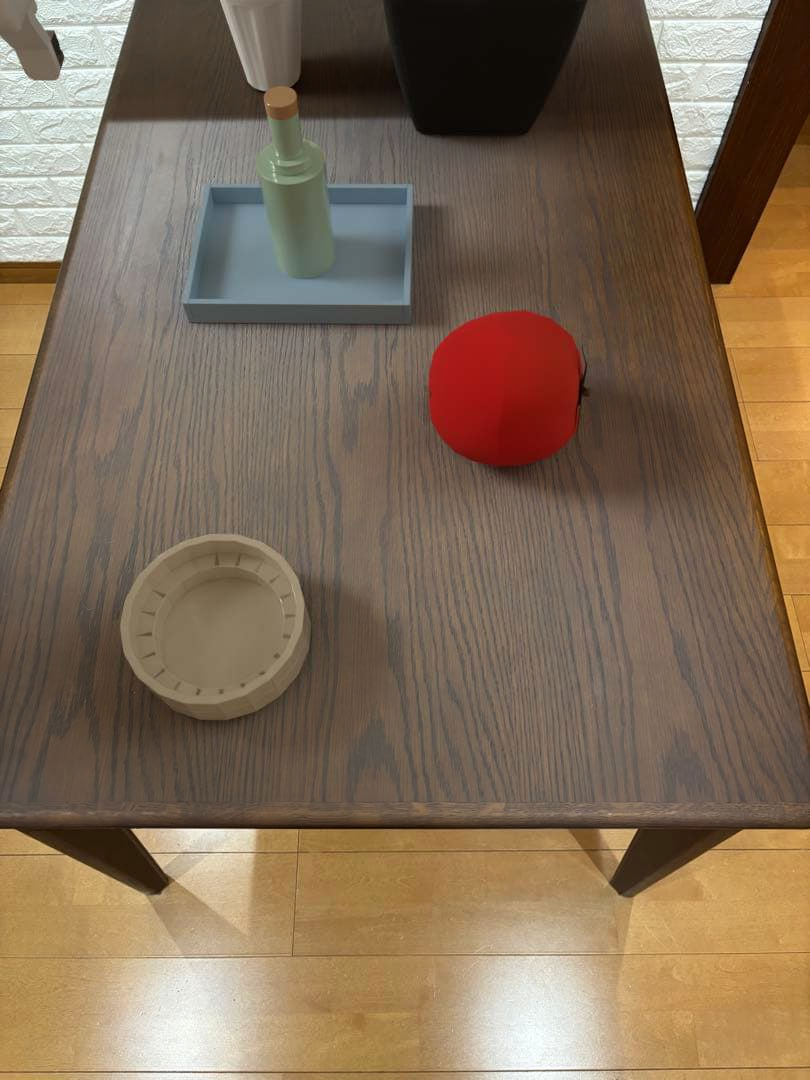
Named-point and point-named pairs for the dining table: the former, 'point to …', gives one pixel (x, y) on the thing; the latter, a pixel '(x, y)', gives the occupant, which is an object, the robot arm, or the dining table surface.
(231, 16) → the cup
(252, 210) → the tray
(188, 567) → the bowl
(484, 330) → the tomato
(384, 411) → the dining table surface
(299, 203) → the bottle
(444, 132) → the flower pot
